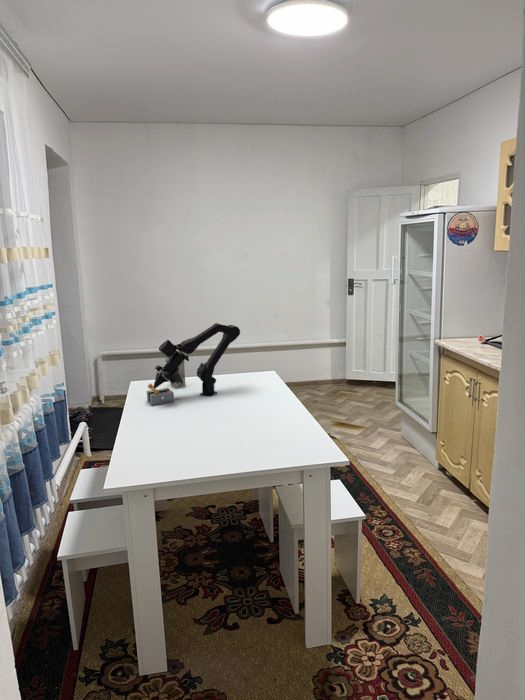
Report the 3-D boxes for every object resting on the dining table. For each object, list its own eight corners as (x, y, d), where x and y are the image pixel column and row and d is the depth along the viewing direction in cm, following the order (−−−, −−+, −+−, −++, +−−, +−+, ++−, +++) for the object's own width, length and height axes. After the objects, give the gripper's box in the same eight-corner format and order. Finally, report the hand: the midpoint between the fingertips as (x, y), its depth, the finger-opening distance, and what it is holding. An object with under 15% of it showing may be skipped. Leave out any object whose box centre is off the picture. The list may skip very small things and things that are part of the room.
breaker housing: (169, 397, 264) (168, 387, 263) (174, 402, 256) (173, 392, 255) (147, 400, 260) (146, 390, 259) (152, 406, 251) (151, 395, 250)
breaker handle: (161, 393, 258) (150, 382, 255) (162, 394, 256) (151, 384, 253) (158, 396, 258) (146, 386, 255) (159, 398, 256) (148, 387, 252)
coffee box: (169, 384, 287) (167, 356, 284) (181, 383, 290) (179, 354, 286) (174, 388, 279) (172, 359, 276) (186, 387, 282) (184, 357, 278)
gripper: (192, 376, 252) (171, 402, 250) (181, 368, 269) (161, 392, 267) (175, 362, 248) (153, 389, 245) (164, 355, 264) (144, 379, 262)
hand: (154, 387), depth 255 cm, fingers closed, pressing on breaker handle
